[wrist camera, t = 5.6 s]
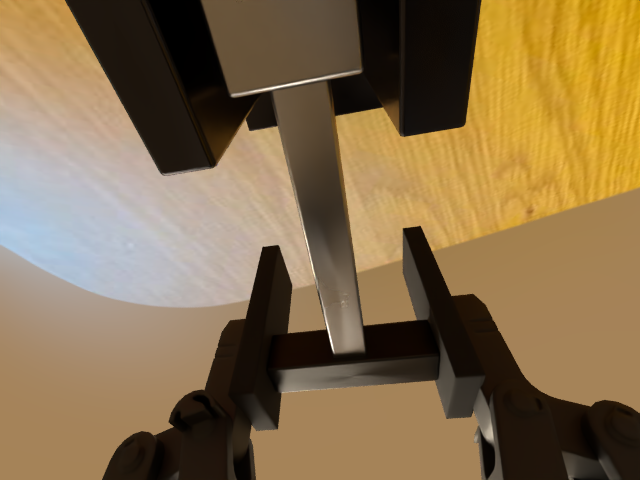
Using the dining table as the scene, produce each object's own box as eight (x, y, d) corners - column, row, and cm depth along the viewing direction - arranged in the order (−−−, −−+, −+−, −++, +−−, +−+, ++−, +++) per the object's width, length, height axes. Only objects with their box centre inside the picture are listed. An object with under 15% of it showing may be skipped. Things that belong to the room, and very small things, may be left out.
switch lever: (423, 333, 11) (443, 395, 9) (283, 347, 12) (274, 408, 10) (437, -158, 5) (518, -298, 3) (123, -74, 5) (3, -142, 3)
